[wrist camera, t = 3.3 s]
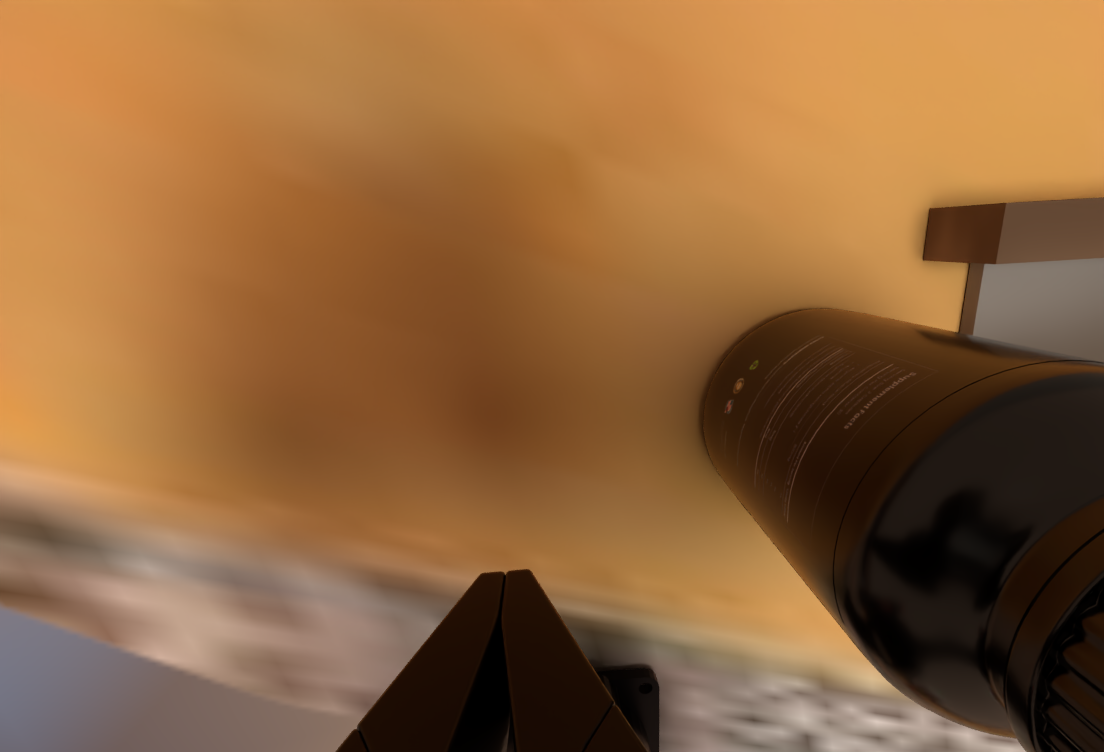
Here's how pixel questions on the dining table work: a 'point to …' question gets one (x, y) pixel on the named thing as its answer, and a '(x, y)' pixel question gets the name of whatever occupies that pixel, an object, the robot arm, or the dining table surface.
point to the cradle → (1028, 271)
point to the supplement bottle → (933, 508)
